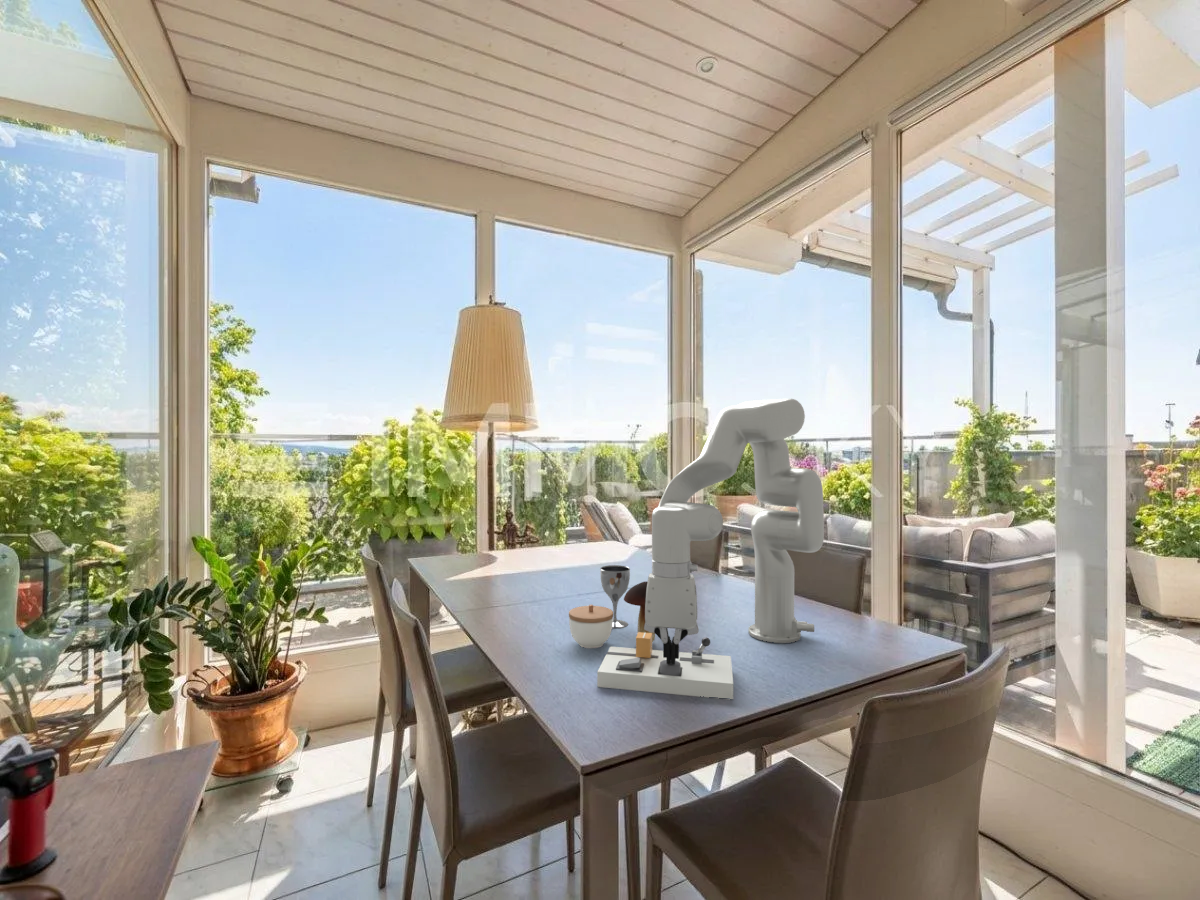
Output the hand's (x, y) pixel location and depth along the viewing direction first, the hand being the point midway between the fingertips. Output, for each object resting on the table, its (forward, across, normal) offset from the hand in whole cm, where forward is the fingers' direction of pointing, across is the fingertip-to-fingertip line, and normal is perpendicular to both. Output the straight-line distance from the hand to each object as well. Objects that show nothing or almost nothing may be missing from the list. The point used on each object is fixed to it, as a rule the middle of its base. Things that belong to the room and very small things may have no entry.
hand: (671, 661), depth 107 cm
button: (+4, 0, 0) cm, 4 cm away
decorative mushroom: (+5, +8, -22) cm, 24 cm away
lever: (+1, -5, -6) cm, 8 cm away
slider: (+1, +6, -6) cm, 9 cm away
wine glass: (+5, +18, -35) cm, 40 cm away
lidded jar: (+5, +21, -19) cm, 29 cm away
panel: (+5, +1, -3) cm, 6 cm away
